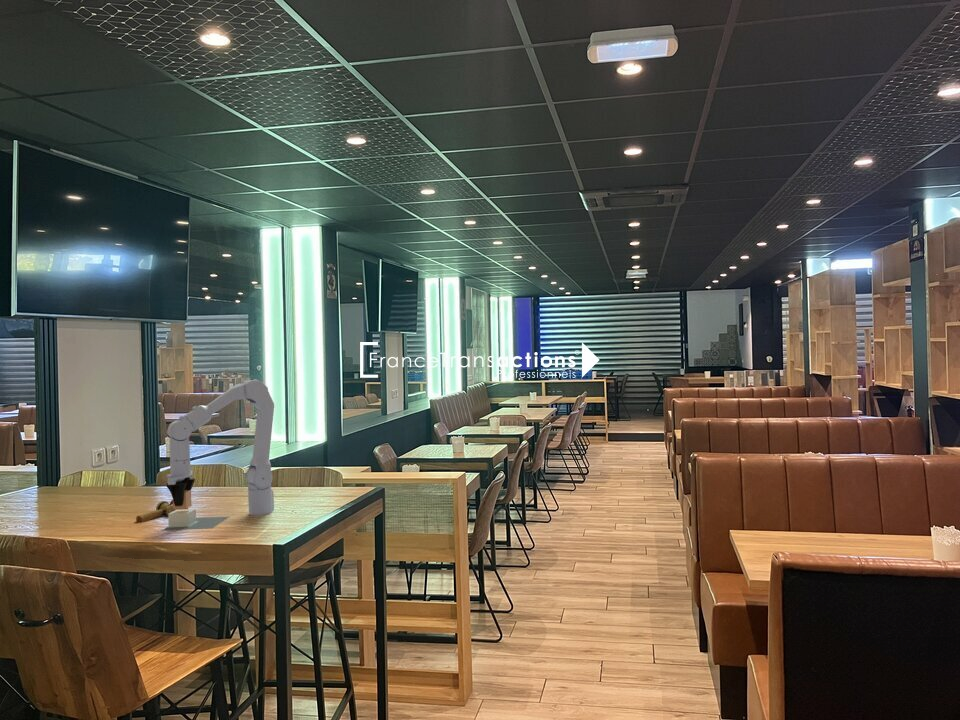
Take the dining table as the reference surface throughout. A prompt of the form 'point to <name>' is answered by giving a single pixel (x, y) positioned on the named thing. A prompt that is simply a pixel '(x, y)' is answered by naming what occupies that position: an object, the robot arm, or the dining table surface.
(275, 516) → the dining table surface
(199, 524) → the grey flat plate
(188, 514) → the base block
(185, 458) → the robot arm
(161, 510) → the kendama
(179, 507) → the terracotta block
